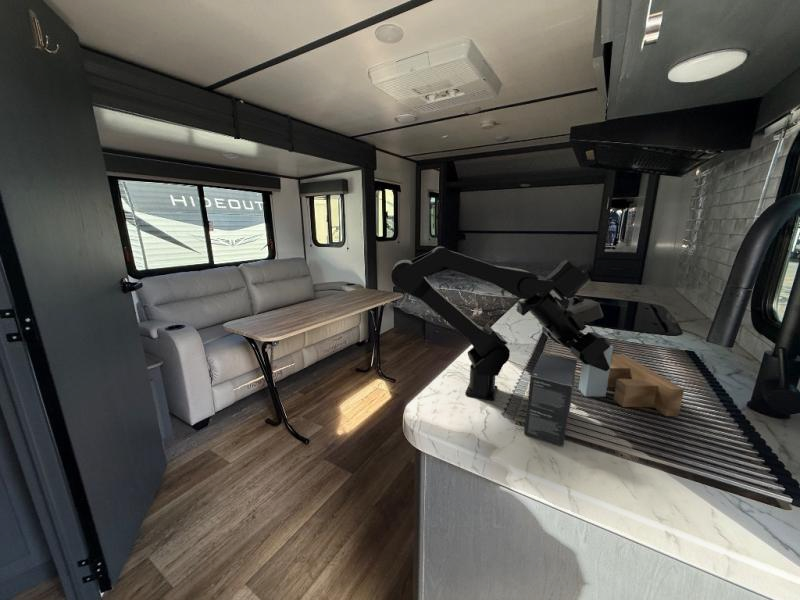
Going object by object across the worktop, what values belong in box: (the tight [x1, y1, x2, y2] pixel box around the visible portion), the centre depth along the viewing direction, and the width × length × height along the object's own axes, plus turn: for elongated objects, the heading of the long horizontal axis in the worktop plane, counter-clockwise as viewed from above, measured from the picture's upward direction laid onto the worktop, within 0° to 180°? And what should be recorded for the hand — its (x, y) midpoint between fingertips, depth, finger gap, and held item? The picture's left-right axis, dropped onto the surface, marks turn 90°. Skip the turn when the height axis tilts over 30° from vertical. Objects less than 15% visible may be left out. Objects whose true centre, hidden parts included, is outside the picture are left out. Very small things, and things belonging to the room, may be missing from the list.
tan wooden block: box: [607, 353, 685, 417], centre depth 72 cm, size 9×18×6 cm, turn 179°
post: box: [578, 345, 614, 397], centre depth 71 cm, size 4×3×12 cm, turn 89°
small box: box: [523, 352, 578, 447], centre depth 60 cm, size 13×7×12 cm, turn 148°
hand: (595, 360), depth 71 cm, fingers open, 9 cm apart
